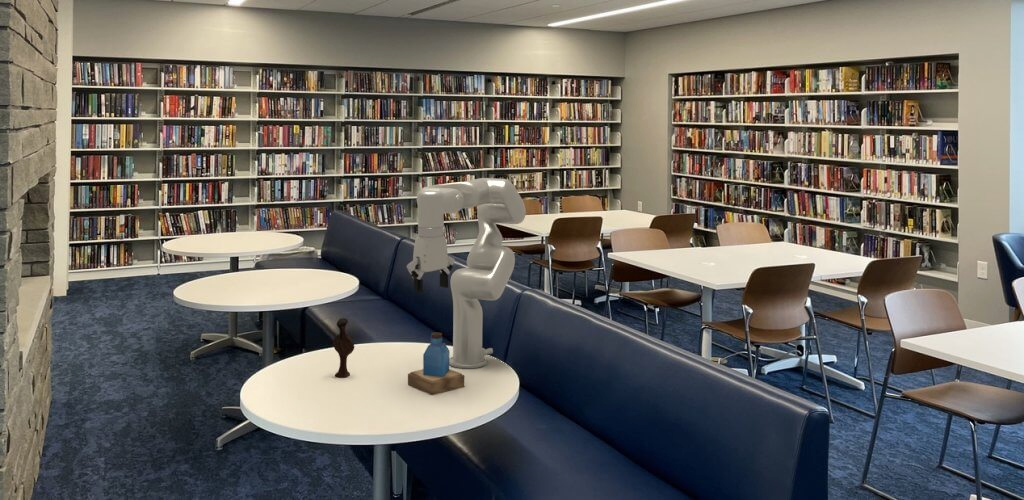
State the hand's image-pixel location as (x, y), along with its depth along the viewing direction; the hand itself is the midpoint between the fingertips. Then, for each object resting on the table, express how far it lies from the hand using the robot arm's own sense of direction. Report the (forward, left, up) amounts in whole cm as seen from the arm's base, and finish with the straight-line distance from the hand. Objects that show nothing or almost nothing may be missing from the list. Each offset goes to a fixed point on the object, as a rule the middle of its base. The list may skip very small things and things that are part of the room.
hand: (431, 289), depth 235 cm
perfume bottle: (+1, +3, -25) cm, 25 cm away
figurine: (+17, -23, -29) cm, 40 cm away
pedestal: (+1, +3, -29) cm, 29 cm away
